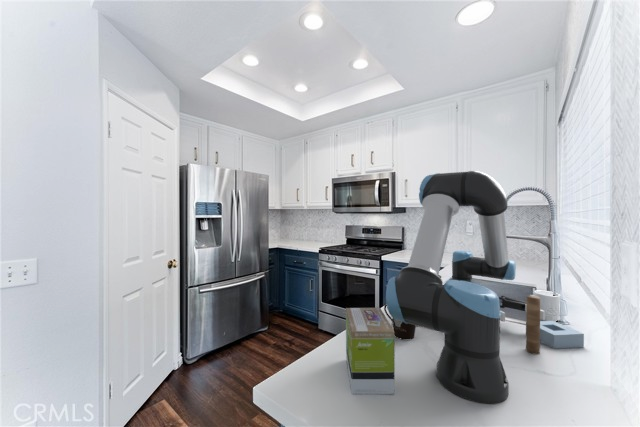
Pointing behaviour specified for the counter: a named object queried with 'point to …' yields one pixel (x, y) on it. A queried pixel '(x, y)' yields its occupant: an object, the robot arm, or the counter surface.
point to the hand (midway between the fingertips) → (524, 316)
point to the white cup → (548, 304)
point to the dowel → (533, 325)
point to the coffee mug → (402, 328)
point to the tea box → (370, 351)
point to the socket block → (560, 335)
